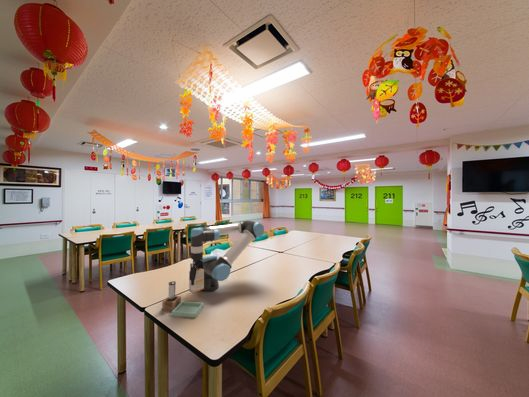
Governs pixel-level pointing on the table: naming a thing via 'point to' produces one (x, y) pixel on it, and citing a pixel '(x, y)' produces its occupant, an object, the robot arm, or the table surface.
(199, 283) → the supplement box
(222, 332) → the table surface
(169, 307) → the brown square holder
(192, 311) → the tray
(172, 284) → the cylinder
